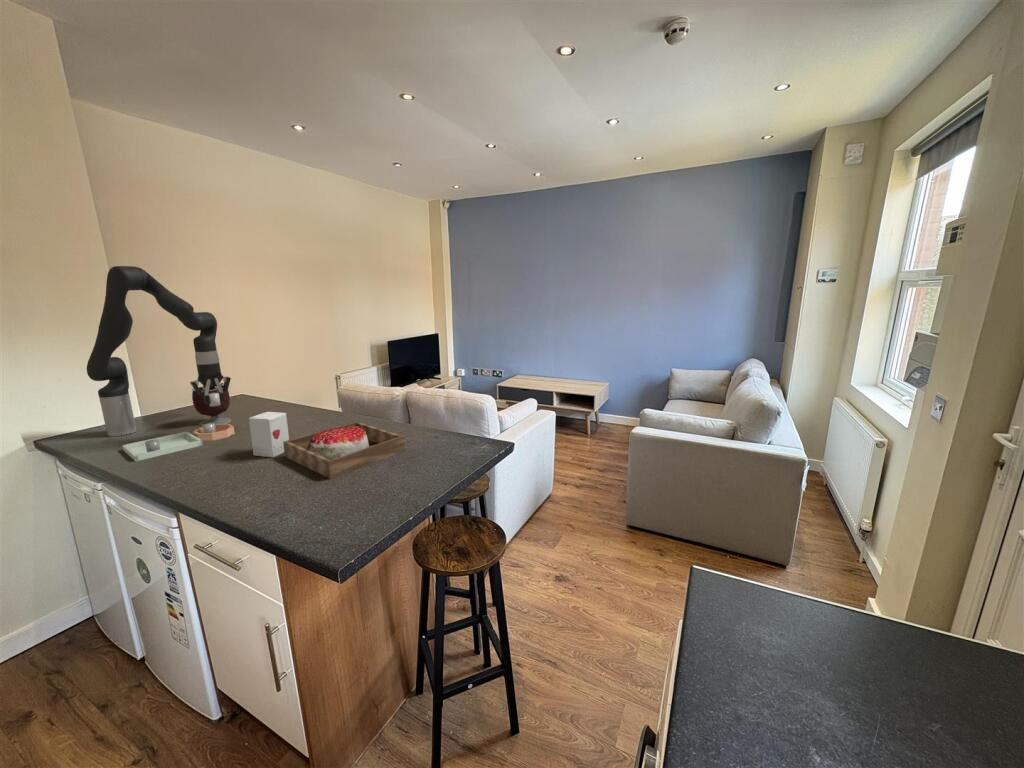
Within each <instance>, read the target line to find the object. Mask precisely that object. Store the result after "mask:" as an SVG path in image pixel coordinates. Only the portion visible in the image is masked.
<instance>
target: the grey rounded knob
mask: <svg viewBox="0 0 1024 768" xmlns="http://www.w3.org/2000/svg"><path fill="white" fill-rule="evenodd" d="M148 440H149V439H148ZM145 445H146V450H147V452H151V451H156V450H160V444H159V440H149V441H146V442H145Z"/></svg>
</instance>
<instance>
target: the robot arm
mask: <svg viewBox="0 0 1024 768" xmlns="http://www.w3.org/2000/svg"><path fill="white" fill-rule="evenodd" d="M129 291H143V292H145V293H147V294H150V295H152V297H154V298H155V301H156V303H157V304H158V305H159V307H160V308H161V309H163V310H164V311H166V313H167V312H168V314H170V315H173V316H174V317H176V318H177V320H179V322H181V323H182V325H184V327H186V328H187V329H190V330H192V331H197V332H199V331H200V332H199V335H198V336H196V337H194V338H193V340H192V341H193V347H194V354H195V356H194V359H195V363H196V370H197V374H198V375H197V379H195V380H192V381H190V385H191V387H192V388H193V389H194V390H195V391H196V393H197V394H199V395H203V396H204V402H205V403H207V404H208V405H209V404H210V398H209V396H208V392H209V387H212V386H215V388H216V389H217V391H218V393H219V397H220V402H223V400H224V396H223V392H225V391H228V392H229V387H230V383H231V379H232V378H231V377H230V376H224V375H223V374H222V369H221V364H220V358H219V353H218V351H217V343H216V338H217V331H218V330H217V329H218V320H217V318H216V317H215V316H214V314H213V313H211V312H209V311H201V312H199V311H198V312H195V309H194V306H193V305H192V304H191V303H189V302H187V301H186V300H185V299H183V298H181V297H179V296H178V295H176V294H174V293H173V292H171V291H170V290H169V289H168V288H166V287H165V286H164V285H163V284H162V283H160V282H159V281H158V280H157V279H155V278H154V277H153V276H152V275H151V274H150V273H148V272H147V271H146V270H145V269H143V268H141V267H138V266H129V265H117V266H116V265H115V266H112V267H111V268H110V269H109V271H107V275H106V283H105V298H104V304H103V308H102V313H101V315H100V321H99V323H98V330H97V335H96V339H95V343H94V345H93V348H92V350H91V353H90V355H89V358H88V361H87V364H86V373H87V376H88V377H89V379H91V380H92V381H94V382H104V381H108V383H107V384H106V385H104V386H103V387H101V388H100V389H98V391H97V394H98V398H99V404H100V408H101V412H102V417H103V420H104V421H103V422H104V426H105V429H106V434H107V435H106V436H108V437H120V436H121V435H122V436H126V434H127V435H130V433H131V434H133V433H135V432H137V431H138V430H137V426H136V420H135V417H134V416H135V415H134V412H133V407H132V403H131V397H130V396H131V395H130V392H129V389H130V382H129V374H128V368H127V364H126V363H125V361H124V360H123V358H120V357H119V356H112V355H113V354H114V352H115V351H116V350H117V349H118V348H119V347H120V346H122V344H123V343H124V342H126V340H127V339H128V338H129V337H130V335H131V331H132V327H133V324H134V323H133V322H134V321H133V316H132V314H131V313H130V311H129V309H128V307H127V305H126V300H127V299H126V298H127V296H128V295H127V294H128V292H129ZM222 381H223V388H221V385H220V383H222ZM199 384H201V385H202V386H203V392H201V390H200V389H199V387H200V386H199ZM122 436H121V437H122Z"/></svg>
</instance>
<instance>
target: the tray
mask: <svg viewBox="0 0 1024 768" xmlns="http://www.w3.org/2000/svg"><path fill="white" fill-rule="evenodd" d="M149 440H159V444H160V450H156V451H151V452H147V450H146V445H145V442H146V441H149ZM121 446H122V451H123V452H125V453H126V455H128V456H129V457H130V458H131V459H132V460H133V461H134V462H138V461H144V460H148V459H151V458H155V457H156V458H157V457H160V456H163V455H168V454H172V453H176V452H180V451H184V450H189V449H193V448H197V447H201V446H204V444H203V441H202V440H201V439H199V438H197V437H196V436H194V435H193V433H190V432H188V431H183V432H178V433H173V434H169V435H163V436H158V437H154V438H149V439H145V440H141V441H135V442H131V443H127V444H126V443H125V444H123V445H121Z"/></svg>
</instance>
